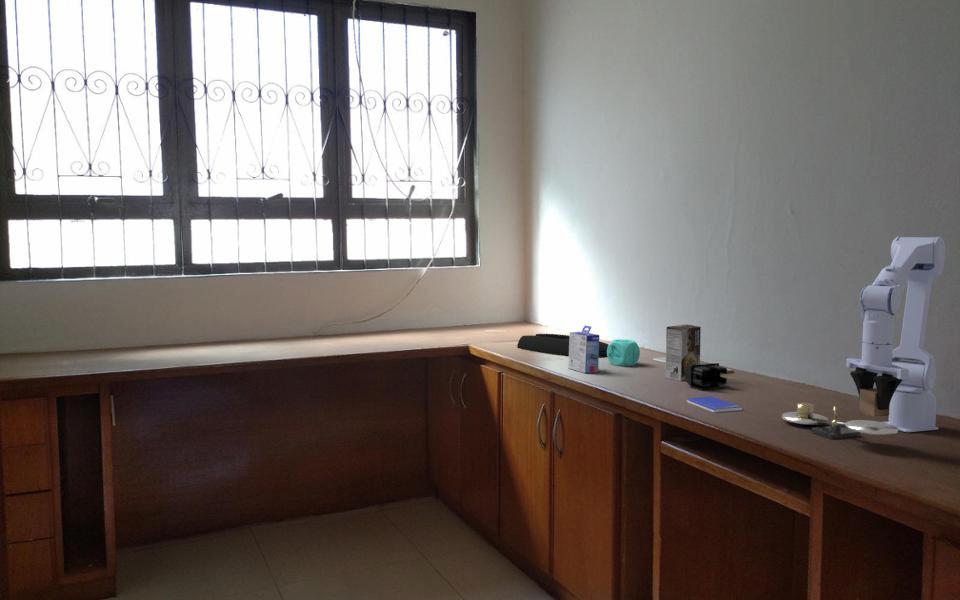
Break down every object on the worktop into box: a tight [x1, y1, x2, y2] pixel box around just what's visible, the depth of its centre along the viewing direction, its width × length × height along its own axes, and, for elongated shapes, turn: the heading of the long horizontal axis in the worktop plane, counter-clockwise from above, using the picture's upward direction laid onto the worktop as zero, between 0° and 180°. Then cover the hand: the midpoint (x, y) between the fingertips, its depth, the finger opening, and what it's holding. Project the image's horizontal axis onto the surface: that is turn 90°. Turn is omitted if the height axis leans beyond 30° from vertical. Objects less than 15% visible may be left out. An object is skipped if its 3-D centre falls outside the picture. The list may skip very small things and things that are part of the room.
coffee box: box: [664, 324, 702, 382], centre depth 234 cm, size 9×6×16 cm
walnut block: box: [858, 387, 890, 418], centre depth 160 cm, size 4×4×5 cm
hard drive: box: [686, 396, 743, 413], centre depth 198 cm, size 2×8×12 cm
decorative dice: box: [607, 338, 641, 367], centre depth 258 cm, size 8×8×8 cm
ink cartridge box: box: [568, 325, 600, 374], centre depth 246 cm, size 10×6×14 cm, turn 28°
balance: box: [781, 402, 899, 440], centre depth 170 cm, size 10×30×6 cm, turn 17°
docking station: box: [516, 333, 609, 358], centre depth 289 cm, size 25×40×5 cm, turn 42°
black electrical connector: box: [685, 362, 728, 392], centre depth 221 cm, size 10×7×7 cm
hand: (874, 406), depth 160 cm, fingers closed on walnut block, 4 cm apart
